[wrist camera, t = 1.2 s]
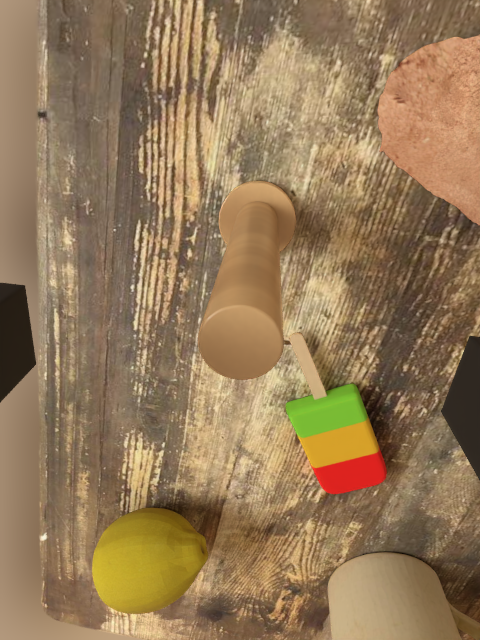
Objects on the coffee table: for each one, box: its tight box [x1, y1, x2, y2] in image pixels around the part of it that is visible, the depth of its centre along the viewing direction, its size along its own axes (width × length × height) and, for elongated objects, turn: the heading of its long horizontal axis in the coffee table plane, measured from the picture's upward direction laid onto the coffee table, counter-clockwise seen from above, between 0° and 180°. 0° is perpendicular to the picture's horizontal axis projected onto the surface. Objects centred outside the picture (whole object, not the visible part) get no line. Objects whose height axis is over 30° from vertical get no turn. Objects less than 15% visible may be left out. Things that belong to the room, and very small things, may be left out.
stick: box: [198, 181, 296, 380], centre depth 20 cm, size 5×5×16 cm
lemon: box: [92, 508, 208, 614], centre depth 37 cm, size 11×8×8 cm
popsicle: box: [286, 332, 387, 494], centre depth 32 cm, size 6×15×2 cm, turn 23°
